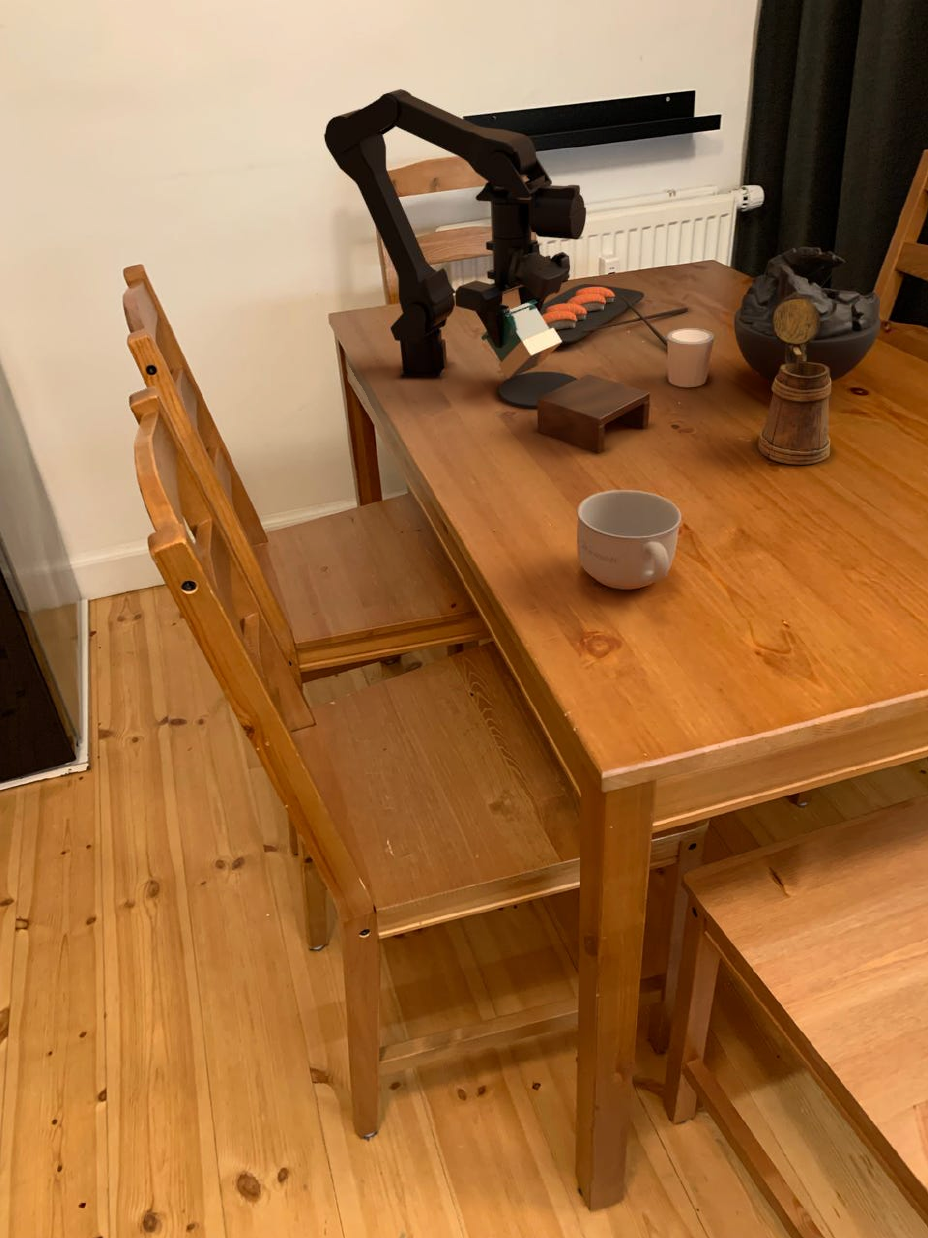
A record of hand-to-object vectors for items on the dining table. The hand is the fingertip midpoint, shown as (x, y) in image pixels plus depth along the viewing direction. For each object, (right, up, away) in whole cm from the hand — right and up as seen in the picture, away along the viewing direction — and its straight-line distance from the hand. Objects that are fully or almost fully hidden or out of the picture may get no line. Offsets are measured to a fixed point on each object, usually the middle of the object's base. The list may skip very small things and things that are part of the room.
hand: (514, 340), depth 146 cm
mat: (+4, -7, +1) cm, 9 cm away
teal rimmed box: (-1, -1, +2) cm, 2 cm away
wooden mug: (+36, -19, -18) cm, 44 cm away
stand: (+10, -15, -11) cm, 22 cm away
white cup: (+27, -6, +1) cm, 27 cm away
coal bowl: (+42, -7, -2) cm, 43 cm away
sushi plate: (+19, +8, +21) cm, 30 cm away
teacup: (+10, -38, -42) cm, 58 cm away
